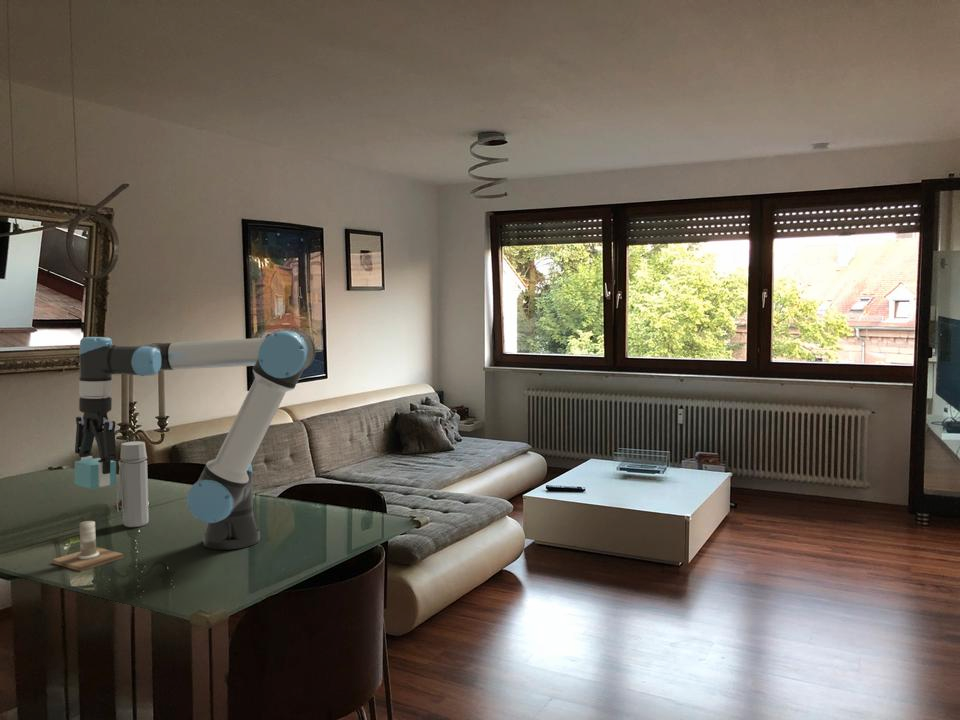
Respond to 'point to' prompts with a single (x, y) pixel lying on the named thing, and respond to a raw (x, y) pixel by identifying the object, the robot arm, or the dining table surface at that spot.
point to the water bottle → (133, 484)
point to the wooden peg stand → (87, 551)
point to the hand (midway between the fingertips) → (95, 483)
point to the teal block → (91, 473)
